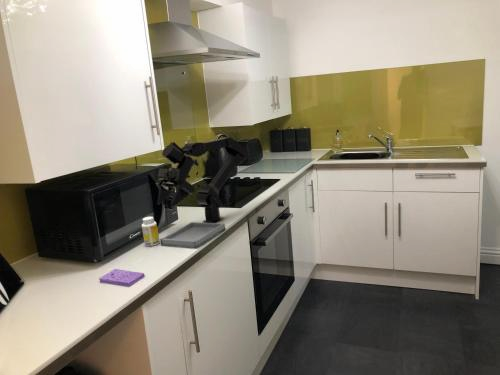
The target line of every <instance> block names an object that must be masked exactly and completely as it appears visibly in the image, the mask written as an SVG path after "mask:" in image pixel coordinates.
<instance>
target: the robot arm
mask: <svg viewBox="0 0 500 375" xmlns="http://www.w3.org/2000/svg"><path fill="white" fill-rule="evenodd" d="M217 149H224V151H225V153H227V154H226V160H225V161H224V163H223V165H222V166H221V167H220V168H219V170H218V171H217V173H216V174H215V176H214V177H213V178H212V180H211V181H210V183H208V184H202V185H201V187H200V188H199V189H198V190H197V193H196V201H197V203H198V205H199V206H200V208H204V216H205V217H204V218H205V220H203V221H202V223H218V222H220V221H222V220H223V219H224V217H223V216H221V212H220V208H221V207H223V200H221V199H220V198H219V196H220V195H219V194H220V190H221V188H222V187H223V185H224V184H225V182H226V181H227V180H228V178H229V176H231V174H232V173H233V171H234V170H235V168H236V167H237V166H238V165H240V164H242V163H243V162H244V161H245V160H246V159H247V158H248V156H249V151H248V149H247V147H246V146H243V144H241V143H240V142H238V141H237V140H234V138H232V137H230V136H224V137H220V138H218V139H212V140H207V141H204V142H186V143H185V144H184V146H182V147H180V146H179V145H178V144H177V143H176V142H174V141H171V142H170V143H169V144H168V145H167V146H166V147H165V148H164V149H163V150H162V153H161V154H162V157H163V158H165V160H168V161H169V162H170V163H172V164H174V165H176V164H177V165H176V167H171V166H170V167H169V168H159V170H158V175H157V176H158V179H156V181H157V182H156V181H155V184H156V187H157V188H158V197H157V204H158V205H161V204H162V203H163V202H164V201H165V200H166V198H167V197H168V196H169V195H171V191H173V189H175V194H174V196H173V199H172V201H171V204H170V205H171V207H173V208H174V207H175V206H177V204H179V203H180V202H181V201H183V200H184V199H185V198H187V197H188V196H190V195H193V194H194V192H195V191H196V190H195V189H196V188H195V186H194V185H193V184H191V183H190V182H189V181H187V179H190V178H191V176H190V173H191V171H192V168H193V167H199V163H198V159H197V158H198V157H201V156H203V155H206V153H208V152H210V151H215V150H217ZM193 157H194V159H193ZM195 157H196V159H195Z"/></svg>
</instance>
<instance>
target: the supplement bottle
mask: <svg viewBox="0 0 500 375" xmlns="http://www.w3.org/2000/svg"><path fill="white" fill-rule="evenodd" d="M141 230H142V231H141V232H142V234H143V240H144V241H143V242H144V245H145V246H146V247H152V246H156V245H159V243H161V242H160V239H161V238H160V234H159V230H158V224H157V222H156V221H155V219H154V216H146V217H144V218H142V224H141Z"/></svg>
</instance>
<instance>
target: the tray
mask: <svg viewBox="0 0 500 375" xmlns="http://www.w3.org/2000/svg"><path fill="white" fill-rule="evenodd" d="M224 231H226V225H225V223H218V222H216V223H207V222H200V221H199V222H197V221H194V222H193V221H191V222H189V223H188V224H186V225H184V226H181V227H180V228H178V229H176V230H175V231H173V232H171V233H169V234H167V235H165V236H163V237H162V238H159V239H160V242H159V243H160V246H162V247H163V246H164V247H174V248H185V249H186V248H187V249H199V247H201V246H203V245H204V244H206V243H207V242H209V241H210V240H212V239H213V238H215V237H216V236H218V235H219V234H221V233H223V232H224Z"/></svg>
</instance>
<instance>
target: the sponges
mask: <svg viewBox="0 0 500 375" xmlns="http://www.w3.org/2000/svg"><path fill="white" fill-rule="evenodd" d="M145 275H146V274H145V272H139V271H132V270H124V269H119V268H114V269H112V270H111V271H109V272H108V273H106V274H104V275H103V276H100V277H98V280H99V282H100V283H103V284H112V285H116V286H117V285H118V286H124V287H131V286H132V285H134V284H136V283H137V282H138V281H140V280H142V279H143V278H145V277H146V276H145Z"/></svg>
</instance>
